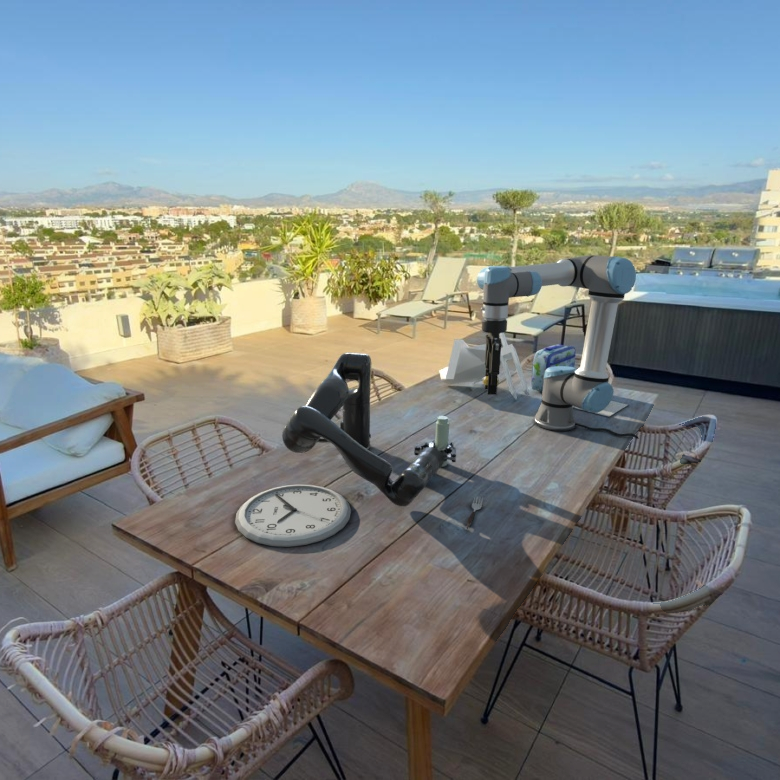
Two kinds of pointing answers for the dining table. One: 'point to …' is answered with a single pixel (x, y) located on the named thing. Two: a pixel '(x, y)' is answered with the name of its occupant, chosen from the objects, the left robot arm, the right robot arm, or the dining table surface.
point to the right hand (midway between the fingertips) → (490, 391)
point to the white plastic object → (479, 364)
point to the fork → (475, 507)
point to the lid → (485, 380)
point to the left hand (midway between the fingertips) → (444, 443)
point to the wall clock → (293, 515)
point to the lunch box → (550, 362)
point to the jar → (442, 434)
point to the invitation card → (610, 408)
